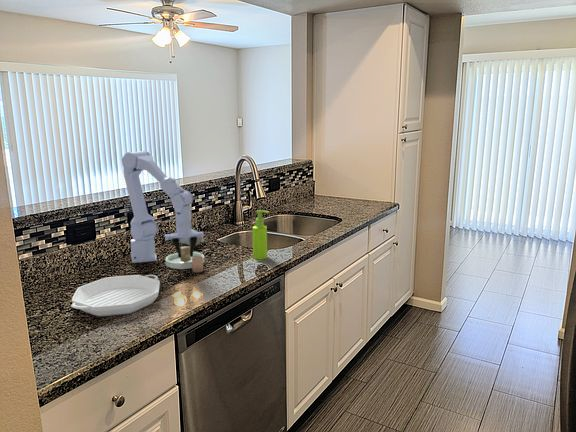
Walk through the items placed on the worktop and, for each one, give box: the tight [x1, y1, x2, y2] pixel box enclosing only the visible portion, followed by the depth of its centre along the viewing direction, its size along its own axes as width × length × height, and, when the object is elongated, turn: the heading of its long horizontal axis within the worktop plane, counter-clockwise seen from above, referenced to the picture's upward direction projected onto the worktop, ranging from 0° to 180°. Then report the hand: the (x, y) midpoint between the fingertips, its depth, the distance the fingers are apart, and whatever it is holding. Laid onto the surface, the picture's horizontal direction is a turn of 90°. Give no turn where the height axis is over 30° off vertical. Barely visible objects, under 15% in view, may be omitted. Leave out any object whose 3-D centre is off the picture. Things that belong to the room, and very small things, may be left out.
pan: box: [70, 274, 161, 317], centre depth 143 cm, size 31×26×4 cm
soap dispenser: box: [252, 209, 270, 260], centre depth 185 cm, size 6×7×20 cm
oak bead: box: [179, 245, 191, 262], centre depth 176 cm, size 4×4×5 cm
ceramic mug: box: [179, 228, 205, 247], centre depth 206 cm, size 11×8×8 cm
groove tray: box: [165, 251, 205, 270], centre depth 181 cm, size 15×15×2 cm
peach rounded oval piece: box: [191, 257, 204, 273], centre depth 171 cm, size 4×4×5 cm
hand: (185, 256), depth 176 cm, fingers closed on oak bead, 4 cm apart
